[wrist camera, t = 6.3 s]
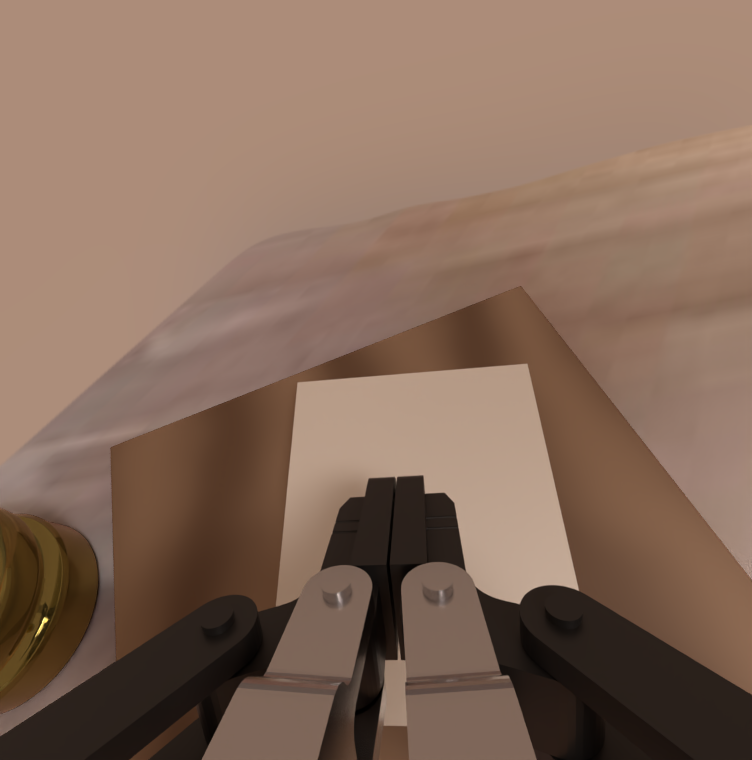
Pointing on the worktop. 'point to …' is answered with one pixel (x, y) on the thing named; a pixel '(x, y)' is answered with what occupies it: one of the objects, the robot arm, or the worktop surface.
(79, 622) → the brass knob
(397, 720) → the tile
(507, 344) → the board
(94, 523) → the worktop surface
